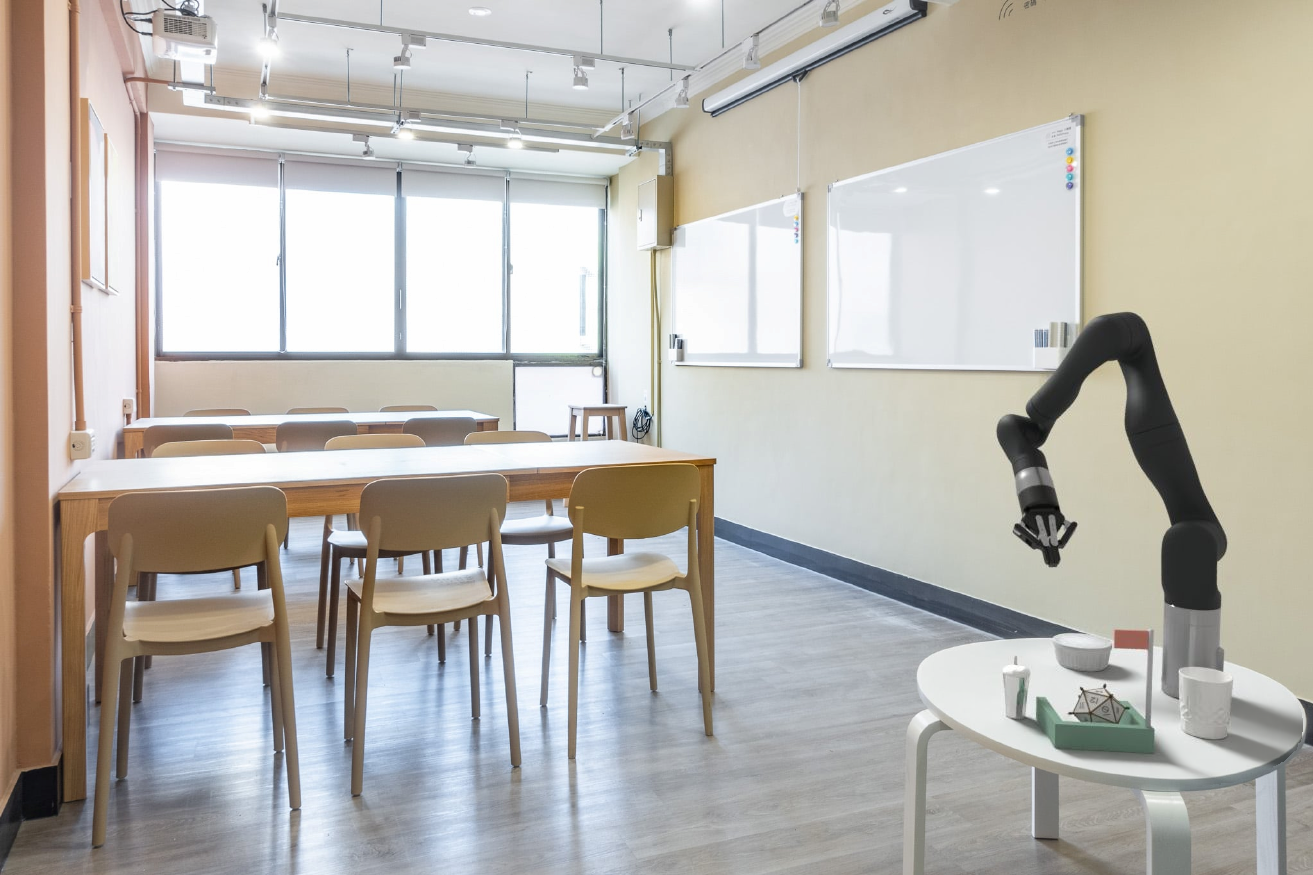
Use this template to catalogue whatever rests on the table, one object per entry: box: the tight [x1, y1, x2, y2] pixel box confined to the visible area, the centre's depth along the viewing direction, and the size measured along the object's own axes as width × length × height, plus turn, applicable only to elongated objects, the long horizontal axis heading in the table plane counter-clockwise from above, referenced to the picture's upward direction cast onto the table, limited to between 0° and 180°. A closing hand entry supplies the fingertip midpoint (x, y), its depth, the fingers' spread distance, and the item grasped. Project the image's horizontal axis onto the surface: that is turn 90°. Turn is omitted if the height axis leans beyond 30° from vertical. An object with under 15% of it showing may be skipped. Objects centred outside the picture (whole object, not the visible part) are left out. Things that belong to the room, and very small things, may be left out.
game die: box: [1067, 682, 1130, 724], centre depth 152 cm, size 9×8×10 cm
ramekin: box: [1052, 632, 1113, 673], centre depth 187 cm, size 11×11×5 cm
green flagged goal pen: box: [1035, 628, 1156, 755], centre depth 150 cm, size 15×12×20 cm
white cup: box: [1178, 667, 1234, 740], centre depth 152 cm, size 8×8×10 cm
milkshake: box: [1002, 655, 1031, 720], centre depth 160 cm, size 5×5×10 cm
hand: (1053, 565), depth 180 cm, fingers closed
